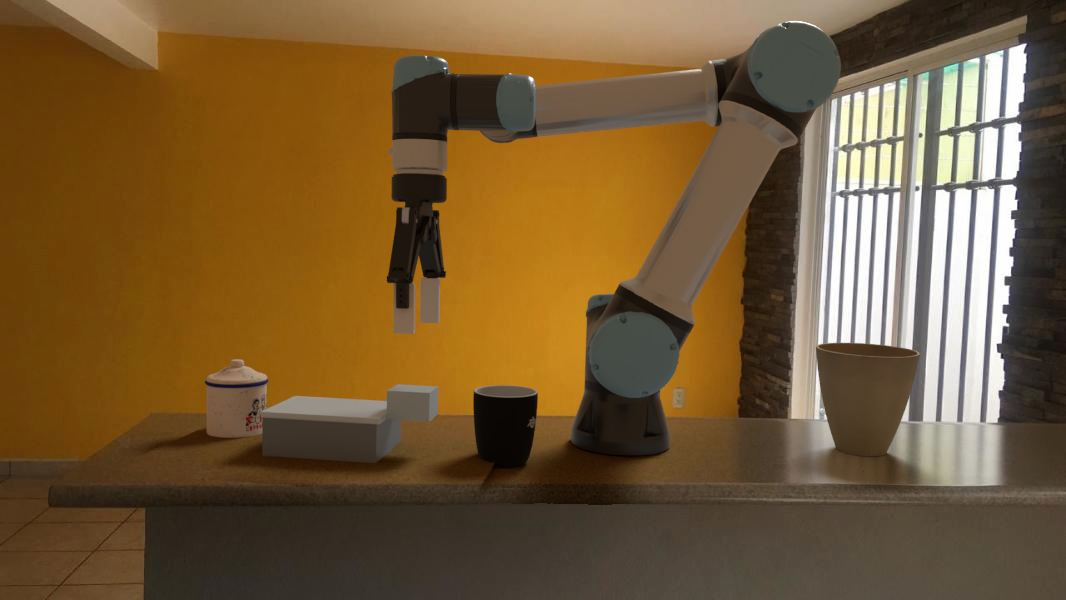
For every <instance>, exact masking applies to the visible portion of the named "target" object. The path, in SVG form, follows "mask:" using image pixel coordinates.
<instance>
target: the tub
mask: <svg viewBox="0 0 1066 600" xmlns="http://www.w3.org/2000/svg"><path fill="white" fill-rule="evenodd" d="M261 435H262V437H261V440H262V441H261V443H262V444H261V445H262V447H261V449H262V451H261V456H262V457H272V458H274V457H275V458H289V459H304V460H305V459H306V460H318V461H319V460H320V461H334V462H348V463H351V462H352V463H363V464H364V463H365V464H377V463H379V461H380V460H382V459H383V458H384V457H386V456H387V454H389V453H391V451H393V449H395V448H396V447H397V446H399V444H401V442H402V420H389V419H386V420H385V421H383V422H382V423H381V424H379V425H378V424H361V423H345V422H328V421H311V420H295V419H278V418H262V434H261Z"/></svg>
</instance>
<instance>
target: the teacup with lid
mask: <svg viewBox="0 0 1066 600" xmlns="http://www.w3.org/2000/svg"><path fill="white" fill-rule="evenodd" d="M229 365H230V366H225V367H223V368H222V369H220V370H219V371H218V372H214V373H211V374H208V376H206V378H205V380H204V384H205V385H206V434H207V435H208V436H210V437H215V438H223V439H224V438H226V439H227V438H228V439H229V438H230V439H232V438H234V439H235V438H247V437H253V436H258V435H262V418H261V411H264V410H266V409H268V407H267V405H268V404H267V401H268V400H267V399H268V398H267V396H268V395H267V393H268V392H267V391H268V390H267V389H268V388H267V386H268V385H267V384H268V383H269V379H268V376H267V375H266V374H265V373H262V372H258V371H256V370H254V369H253V368H251V367H250V366H246V365H245V361H244V359H238V358H237V359H231V360H230V361H229Z"/></svg>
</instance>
